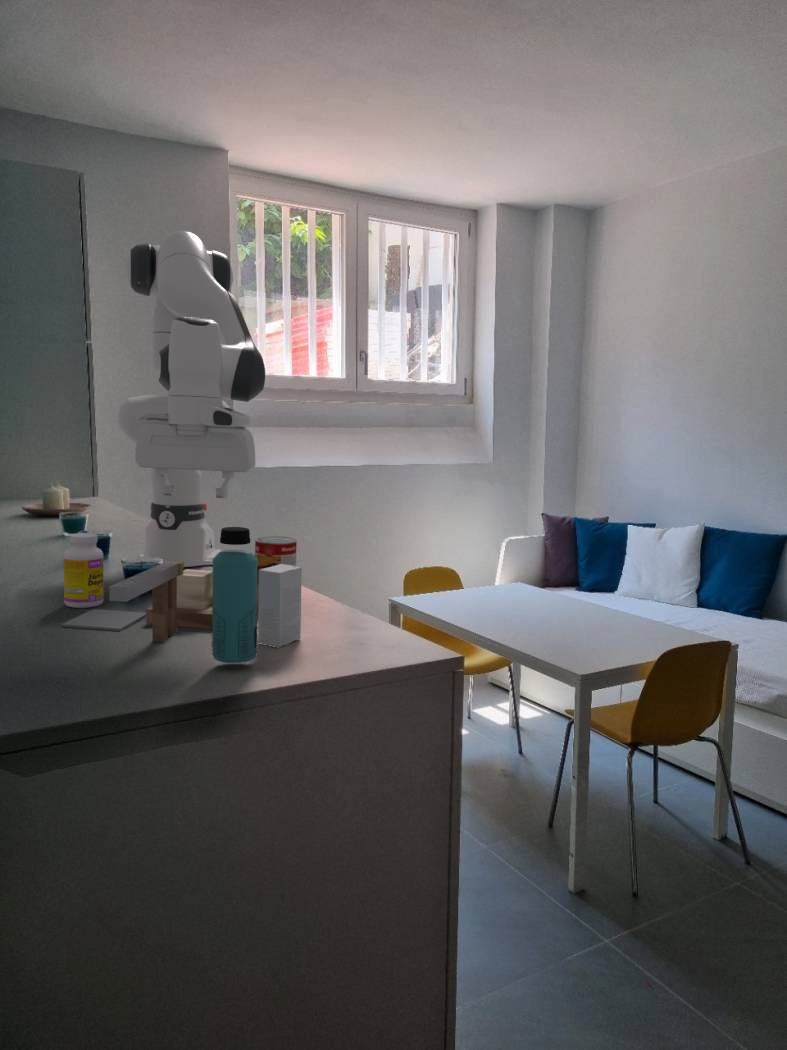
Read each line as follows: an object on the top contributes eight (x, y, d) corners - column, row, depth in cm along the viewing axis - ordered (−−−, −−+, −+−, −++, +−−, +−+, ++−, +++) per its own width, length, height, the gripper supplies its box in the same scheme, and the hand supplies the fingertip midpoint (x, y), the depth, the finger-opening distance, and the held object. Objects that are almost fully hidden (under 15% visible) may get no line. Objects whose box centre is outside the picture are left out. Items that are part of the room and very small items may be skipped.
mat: (93, 611, 131) (93, 609, 130) (147, 615, 129) (147, 613, 129) (62, 626, 121) (62, 624, 121) (120, 631, 120) (120, 628, 120)
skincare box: (279, 635, 121) (281, 563, 120) (301, 639, 119) (303, 566, 118) (256, 644, 116) (257, 569, 114) (278, 648, 114) (280, 572, 112)
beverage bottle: (261, 672, 103) (264, 530, 101) (212, 675, 101) (214, 531, 98) (253, 657, 109) (256, 523, 107) (207, 660, 107) (209, 524, 104)
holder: (175, 606, 136) (175, 557, 135) (238, 611, 135) (239, 561, 134) (120, 639, 115) (120, 581, 114) (194, 644, 114) (194, 586, 113)
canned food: (266, 593, 149) (268, 535, 148) (301, 598, 147) (303, 538, 145) (246, 602, 142) (247, 540, 140) (283, 607, 139) (284, 544, 138)
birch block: (186, 613, 132) (186, 569, 131) (212, 615, 132) (213, 571, 131) (174, 620, 127) (174, 574, 126) (202, 622, 127) (202, 576, 126)
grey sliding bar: (165, 573, 120) (165, 561, 120) (183, 574, 120) (183, 562, 119) (107, 600, 101) (107, 586, 101) (128, 601, 101) (128, 587, 101)
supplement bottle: (89, 610, 131) (88, 539, 129) (56, 607, 132) (54, 536, 131) (111, 601, 138) (110, 533, 136) (79, 598, 139) (78, 531, 137)
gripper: (128, 412, 123) (128, 495, 125) (247, 416, 121) (246, 501, 122) (144, 413, 129) (145, 492, 131) (259, 417, 127) (257, 498, 129)
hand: (195, 496), depth 126 cm, fingers open, 8 cm apart
